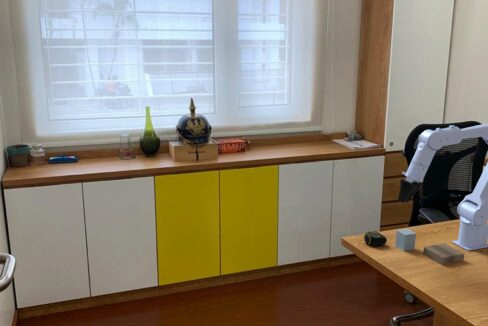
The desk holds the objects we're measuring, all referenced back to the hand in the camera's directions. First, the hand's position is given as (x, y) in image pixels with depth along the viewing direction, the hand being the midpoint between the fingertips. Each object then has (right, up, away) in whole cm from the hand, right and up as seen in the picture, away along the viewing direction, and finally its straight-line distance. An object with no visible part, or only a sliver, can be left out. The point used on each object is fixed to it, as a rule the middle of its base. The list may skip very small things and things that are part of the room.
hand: (402, 201), depth 165 cm
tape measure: (-6, -16, +12) cm, 21 cm away
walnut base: (+14, -19, 0) cm, 24 cm away
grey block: (+3, -17, +8) cm, 19 cm away
